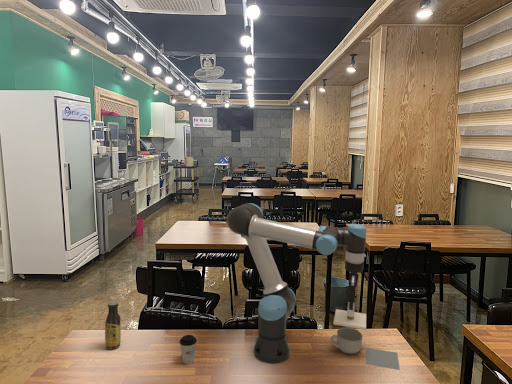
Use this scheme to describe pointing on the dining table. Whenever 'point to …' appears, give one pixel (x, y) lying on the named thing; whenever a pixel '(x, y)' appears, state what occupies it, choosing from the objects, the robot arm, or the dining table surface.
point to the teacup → (348, 340)
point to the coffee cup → (188, 348)
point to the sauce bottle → (113, 327)
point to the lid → (350, 319)
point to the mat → (382, 358)
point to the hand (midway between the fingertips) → (350, 314)
